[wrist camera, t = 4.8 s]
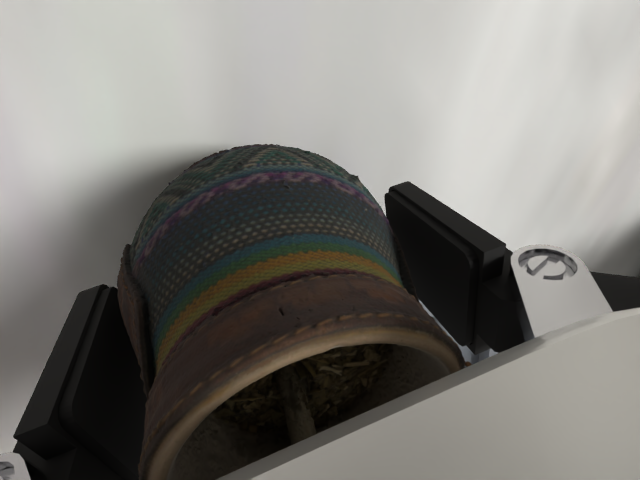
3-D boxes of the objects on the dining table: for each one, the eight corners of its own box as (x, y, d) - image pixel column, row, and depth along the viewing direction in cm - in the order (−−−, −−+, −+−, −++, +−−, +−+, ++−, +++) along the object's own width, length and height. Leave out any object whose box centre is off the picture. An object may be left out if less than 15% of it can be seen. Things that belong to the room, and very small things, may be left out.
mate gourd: (326, 87, 10) (809, 278, 2) (364, 269, 15) (578, 558, 7) (88, 166, 9) (-529, 975, 1) (203, 336, 14) (223, 772, 6)
